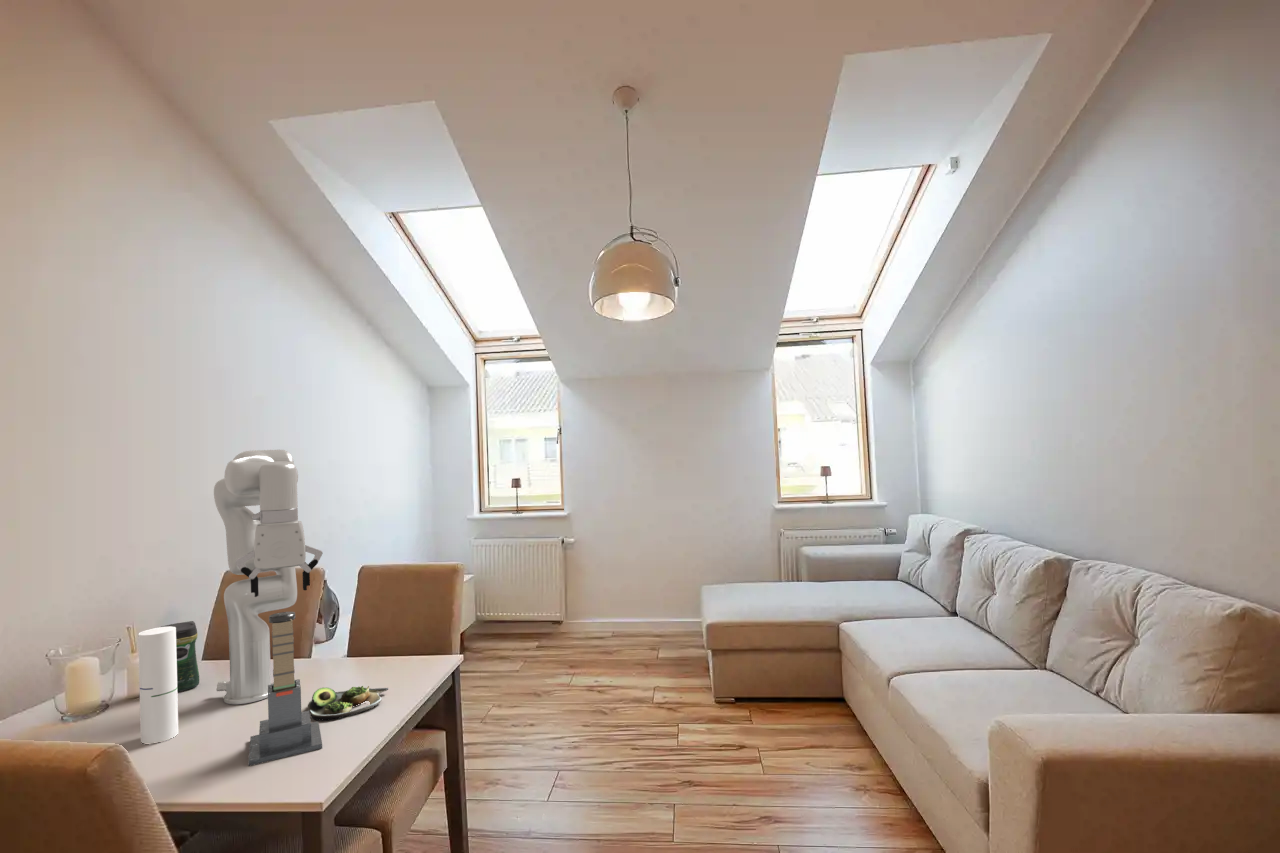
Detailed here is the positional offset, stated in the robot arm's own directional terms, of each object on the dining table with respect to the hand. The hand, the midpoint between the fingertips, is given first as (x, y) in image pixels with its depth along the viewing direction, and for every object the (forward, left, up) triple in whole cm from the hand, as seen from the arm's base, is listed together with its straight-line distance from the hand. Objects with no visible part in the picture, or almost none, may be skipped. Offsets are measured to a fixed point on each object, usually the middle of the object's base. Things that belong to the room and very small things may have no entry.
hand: (281, 592), depth 148 cm
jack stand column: (0, 0, -27) cm, 27 cm away
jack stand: (0, 0, -34) cm, 34 cm away
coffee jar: (-50, +41, -34) cm, 73 cm away
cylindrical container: (-33, +8, -34) cm, 48 cm away
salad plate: (+4, +21, -35) cm, 41 cm away
